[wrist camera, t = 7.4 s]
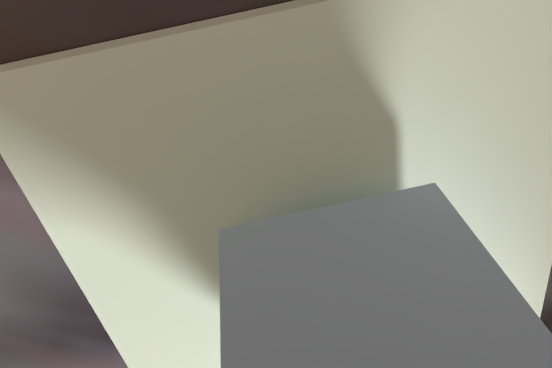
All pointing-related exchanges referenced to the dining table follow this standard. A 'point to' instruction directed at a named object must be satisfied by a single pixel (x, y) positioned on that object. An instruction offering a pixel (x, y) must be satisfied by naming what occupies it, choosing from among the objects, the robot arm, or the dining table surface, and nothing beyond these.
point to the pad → (277, 144)
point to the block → (372, 291)
